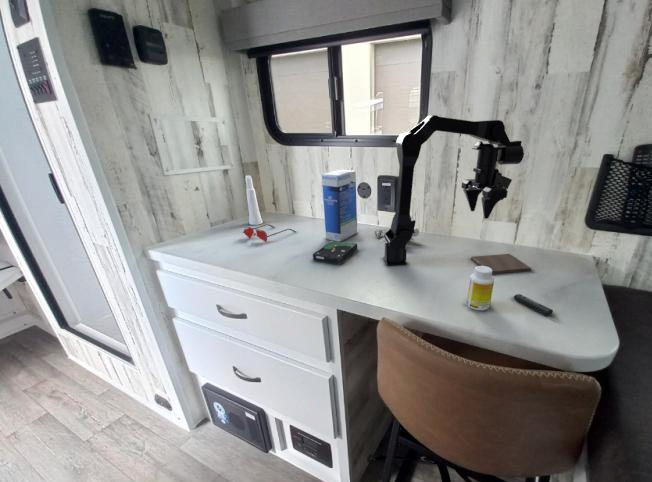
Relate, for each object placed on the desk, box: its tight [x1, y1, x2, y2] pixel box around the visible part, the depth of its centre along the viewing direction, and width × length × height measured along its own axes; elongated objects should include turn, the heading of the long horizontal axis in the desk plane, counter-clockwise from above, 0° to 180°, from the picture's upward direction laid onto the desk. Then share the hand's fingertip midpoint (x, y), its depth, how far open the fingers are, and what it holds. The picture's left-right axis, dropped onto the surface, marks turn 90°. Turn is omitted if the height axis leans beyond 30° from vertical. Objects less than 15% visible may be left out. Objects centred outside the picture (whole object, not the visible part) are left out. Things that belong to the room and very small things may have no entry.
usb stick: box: [513, 293, 554, 317], centre depth 76 cm, size 10×3×2 cm, turn 29°
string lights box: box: [321, 169, 358, 242], centre depth 123 cm, size 13×8×26 cm, turn 150°
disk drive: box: [312, 240, 358, 265], centre depth 108 cm, size 10×3×15 cm
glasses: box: [242, 223, 297, 243], centre depth 129 cm, size 14×16×5 cm
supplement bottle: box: [466, 265, 495, 311], centre depth 75 cm, size 6×6×10 cm
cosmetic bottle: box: [244, 174, 264, 226], centre depth 142 cm, size 6×6×22 cm
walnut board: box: [470, 253, 532, 275], centre depth 100 cm, size 14×12×1 cm
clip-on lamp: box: [374, 227, 420, 244], centre depth 121 cm, size 12×6×18 cm
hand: (479, 214), depth 101 cm, fingers open, 9 cm apart
